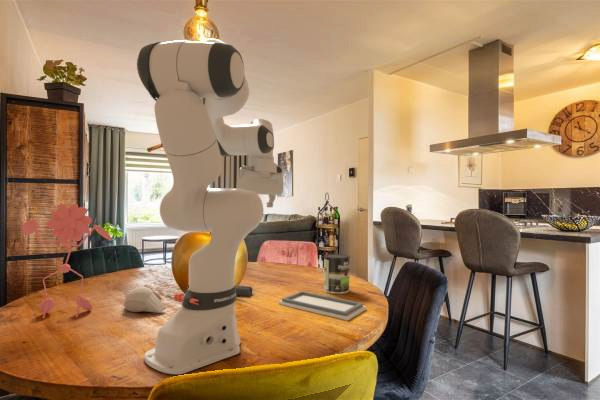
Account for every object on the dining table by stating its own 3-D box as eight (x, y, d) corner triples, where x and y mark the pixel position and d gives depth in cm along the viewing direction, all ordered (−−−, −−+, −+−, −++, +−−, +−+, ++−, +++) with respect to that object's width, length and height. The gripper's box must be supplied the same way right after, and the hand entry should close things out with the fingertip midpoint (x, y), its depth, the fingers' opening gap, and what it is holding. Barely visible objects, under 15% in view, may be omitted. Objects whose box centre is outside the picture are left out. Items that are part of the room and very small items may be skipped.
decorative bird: (139, 304, 116) (141, 282, 116) (169, 313, 107) (171, 289, 108) (114, 309, 108) (116, 285, 109) (144, 319, 100) (146, 293, 100)
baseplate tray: (347, 320, 101) (347, 314, 101) (278, 304, 116) (278, 298, 116) (366, 309, 111) (366, 303, 111) (300, 295, 127) (300, 290, 127)
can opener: (206, 290, 133) (200, 293, 128) (208, 274, 133) (202, 277, 128) (252, 297, 129) (248, 300, 124) (254, 280, 129) (249, 284, 124)
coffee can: (354, 291, 134) (354, 255, 134) (337, 295, 127) (337, 258, 127) (335, 286, 142) (336, 252, 142) (318, 290, 135) (318, 255, 135)
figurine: (105, 318, 102) (106, 203, 102) (9, 323, 97) (9, 203, 97) (122, 303, 117) (123, 203, 117) (39, 307, 112) (40, 203, 112)
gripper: (245, 164, 105) (245, 208, 105) (286, 169, 122) (286, 207, 122) (232, 165, 109) (231, 207, 109) (273, 170, 126) (273, 207, 126)
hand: (260, 207), depth 116 cm, fingers open, 8 cm apart
